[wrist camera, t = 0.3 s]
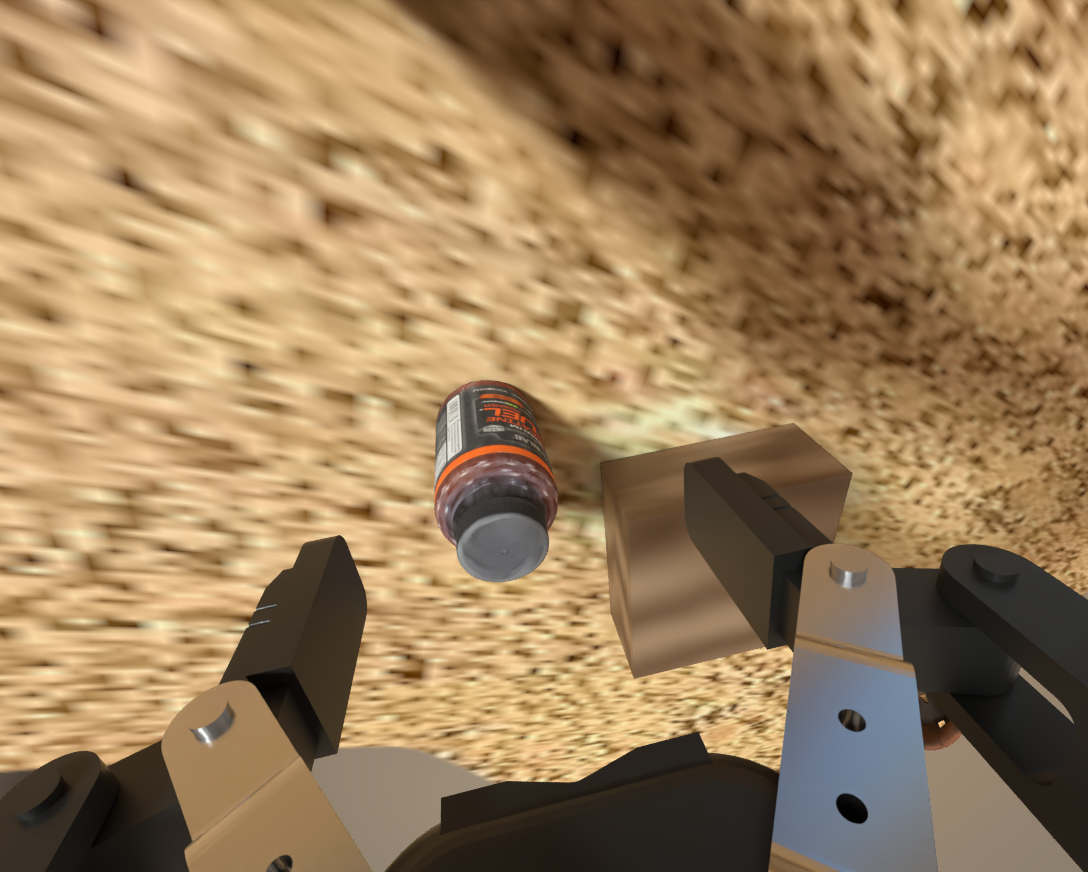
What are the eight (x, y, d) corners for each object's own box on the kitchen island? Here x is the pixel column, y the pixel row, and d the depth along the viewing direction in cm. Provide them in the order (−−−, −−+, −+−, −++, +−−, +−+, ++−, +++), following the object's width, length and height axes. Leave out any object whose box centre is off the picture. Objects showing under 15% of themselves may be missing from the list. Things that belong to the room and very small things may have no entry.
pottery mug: (841, 710, 62) (882, 758, 53) (850, 635, 61) (893, 672, 53) (943, 719, 61) (1001, 769, 53) (954, 644, 60) (1014, 683, 52)
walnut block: (600, 462, 34) (628, 521, 29) (793, 423, 35) (852, 473, 30) (611, 613, 43) (633, 678, 38) (765, 577, 44) (807, 636, 39)
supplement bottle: (549, 394, 31) (598, 516, 21) (509, 470, 33) (538, 609, 24) (456, 361, 29) (465, 480, 19) (421, 444, 31) (414, 587, 22)
